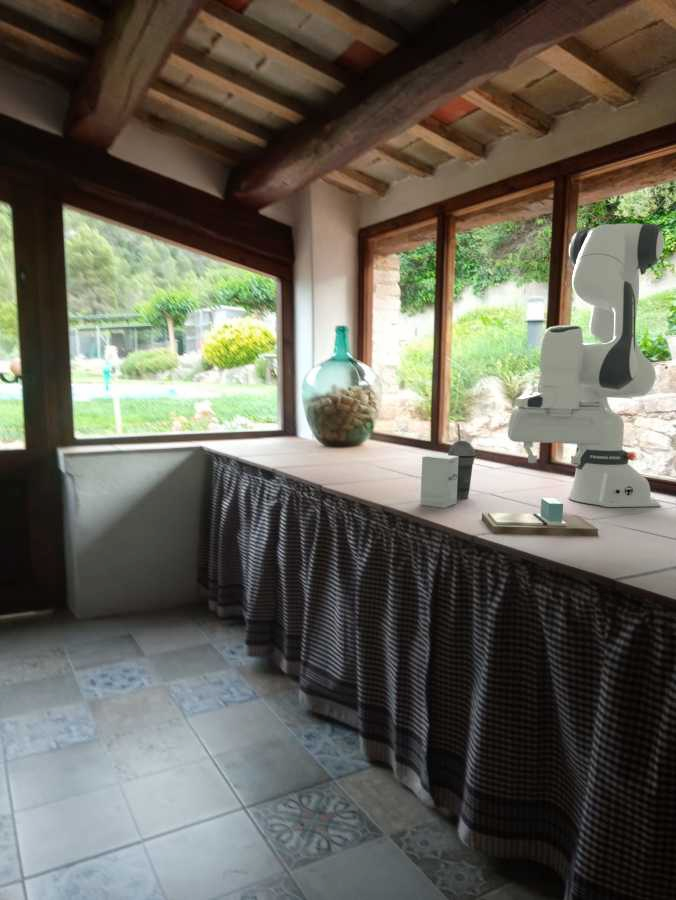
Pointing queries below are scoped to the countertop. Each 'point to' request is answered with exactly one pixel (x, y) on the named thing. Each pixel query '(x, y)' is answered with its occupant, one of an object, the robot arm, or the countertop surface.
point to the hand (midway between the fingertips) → (553, 463)
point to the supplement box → (439, 480)
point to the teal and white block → (552, 511)
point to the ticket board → (536, 524)
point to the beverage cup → (463, 465)
